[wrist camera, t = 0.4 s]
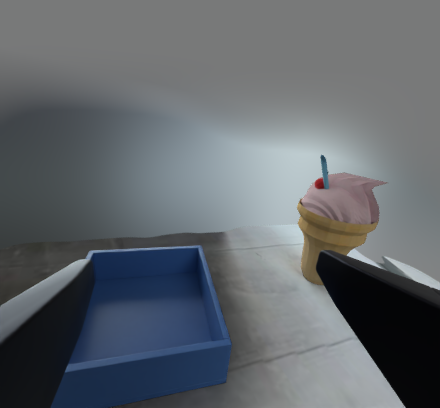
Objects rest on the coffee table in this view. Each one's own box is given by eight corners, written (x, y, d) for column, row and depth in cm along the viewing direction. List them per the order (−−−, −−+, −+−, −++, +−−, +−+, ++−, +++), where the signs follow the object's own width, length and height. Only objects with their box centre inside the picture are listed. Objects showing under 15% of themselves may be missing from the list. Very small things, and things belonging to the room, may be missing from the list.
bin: (226, 382, 21) (232, 344, 19) (36, 423, 17) (22, 379, 15) (199, 272, 36) (201, 245, 34) (93, 281, 32) (89, 250, 30)
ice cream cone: (324, 311, 31) (373, 166, 24) (270, 265, 39) (294, 150, 32) (366, 287, 36) (416, 165, 29) (310, 252, 45) (338, 151, 38)
